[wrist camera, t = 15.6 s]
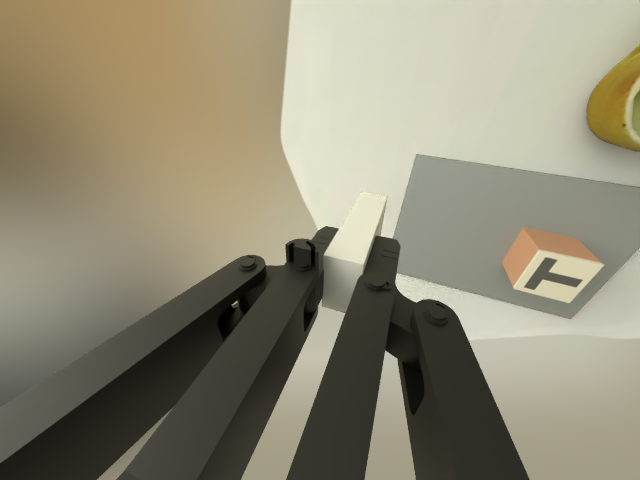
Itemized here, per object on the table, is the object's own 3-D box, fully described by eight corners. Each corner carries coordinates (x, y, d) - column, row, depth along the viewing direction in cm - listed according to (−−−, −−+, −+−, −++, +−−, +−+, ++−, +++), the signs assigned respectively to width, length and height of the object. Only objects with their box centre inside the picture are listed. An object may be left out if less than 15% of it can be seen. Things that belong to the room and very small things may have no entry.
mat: (416, 154, 33) (416, 154, 33) (686, 194, 26) (689, 195, 26) (384, 267, 44) (384, 269, 44) (569, 317, 37) (570, 319, 37)
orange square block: (604, 265, 27) (576, 238, 31) (540, 251, 28) (523, 227, 33) (569, 303, 30) (549, 273, 35) (513, 288, 31) (501, 262, 36)
